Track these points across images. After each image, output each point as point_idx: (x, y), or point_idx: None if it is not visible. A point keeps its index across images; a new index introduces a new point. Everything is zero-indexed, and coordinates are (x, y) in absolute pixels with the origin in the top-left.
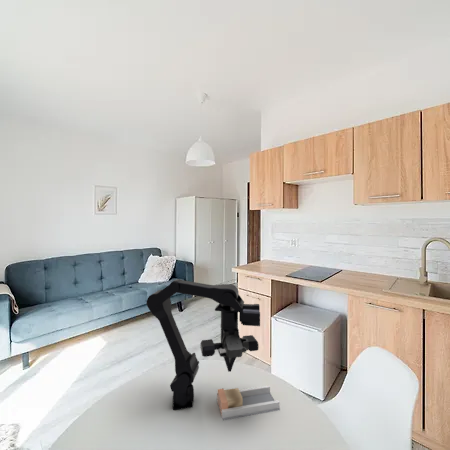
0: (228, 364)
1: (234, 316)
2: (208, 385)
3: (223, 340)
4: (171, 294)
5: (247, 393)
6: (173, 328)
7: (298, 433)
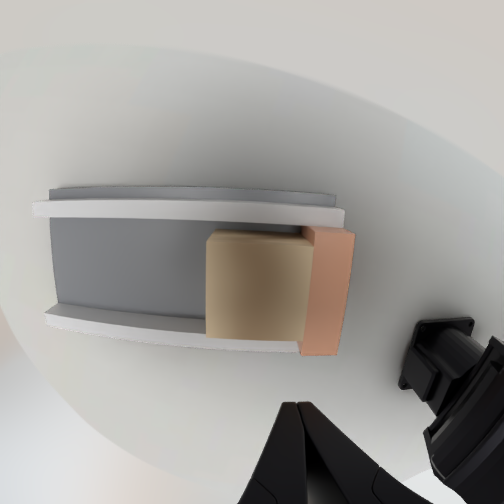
0: (340, 458)
1: None
2: None
3: None
4: None
5: (155, 322)
6: None
7: (50, 88)
